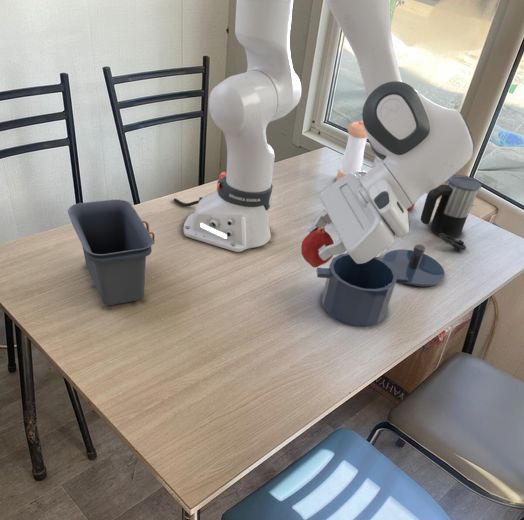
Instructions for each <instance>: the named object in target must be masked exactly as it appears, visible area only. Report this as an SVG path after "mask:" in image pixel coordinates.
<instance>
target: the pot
mask: <svg viewBox="0 0 524 520" xmlns="http://www.w3.org/2000/svg"><path fill="white" fill-rule="evenodd" d="M315 273H316V276H317V278H320V279H321V278H322V279H326V280H325V282H324V283H325V284H324V288H323V292H322V297H321V304H322V307H323V309H324V311H325V312H326V313H327V314H328V315H329V316H330V317H332V318H333V319H334V320H336V321H338V322H341V323H342V324H345V325H349V326H354V327H370V326H375V325H376V324H379V323H380V322H381V321H383V319H384V318H385V317H386V316H385V315H386V313H387V309H388V306H389V304H390V301H391V299H392V295H393V292H394V289H395V286H396V284H407V282H408V278H407V276H406V274H401V273H395V270H394V269H393V268H392V267H391V266H390V265H389V264H388V263H387V262H385V261H383V259H381V258H379V257H378V256H375V257H374V258H373V259H371V260H370V261H368V262H366V263H362V264H357V263H356V262H355V261H354V260H353V259H352V258H351V256H350V255H349V254H348V252H346V253H345V252H344V253H342V254H337V255H336V256H335V257H332V259H331V261H330V264H329V266H328V267H319V266H318V267H316V270H315ZM407 285H408V284H407Z"/></svg>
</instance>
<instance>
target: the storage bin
mask: <svg viewBox="0 0 524 520" xmlns="http://www.w3.org/2000/svg"><path fill="white" fill-rule="evenodd" d="M67 213H68V216H69V220H70V222H71V224H72V227H73V229H74V232H75V233H76V235H77V238H78V240H79V242H80V244H81V247H82V251H83V255H84V261H85V265H86V268H87V270H88V273H89V274H90V277H91V279H92V282H93V284H94V286H95V288H96V291H97V292H98V295H99V296H100V300H101V302H102V304H103V305H104V306H115V305H119V304H125V303H130V302H135V301H140V300H142V299H144V297H145V282H146V281H145V280H146V279H145V278H146V277H145V276H146V260H147V257H148V256H150V255H151V253H152V250H153V249H152V246H153V245H155V233H154V232H153V231H150V227H149V225H150V224H149V223H148V221H146V220H142V219H141V217H140V216H139V214H138V212H137V211H136V209H135V208H134V206H133V205H132V204H131V202H129V201H127V200H124V199H107V200H98V201H87V202H78V203H75V204H73V205H71V206H70V207H69V208H68V209H67Z"/></svg>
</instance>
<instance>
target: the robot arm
mask: <svg viewBox="0 0 524 520" xmlns="http://www.w3.org/2000/svg"><path fill="white" fill-rule="evenodd" d="M325 2H326V5H327V7H328V9H329V11H330V12H331V14H332V16H333V18H334V20H335V22H336V23H337V25H338V27H339V28H340V30H341V32H342V34H343V35H344V37H345V38H346V39H345V40H347V42H348V44H349V46H350V47H351V50H352V52H353V54H354V56H355V58H356V62H357V64H358V66H359V71H360V75H361V79H362V82H363V85H364V88H365V92H366V95H367V98H366V100H365V102H364V104H363V107H362V113H361V118H362V121H363V126H364V130H365V132H366V135H367V140H368V142H369V146H370V149H371V151H372V152H373V154H374V155H376V156H377V157H379V158H380V159H382V160H383V161H381V162H380V163H379V164H377V165H376V166H375V167H374V168H371V169H370V170H368V171H365V170H361V172H355V173H353V174H348V175H346V176H344V177H342V178H341V179H339V180H338V181H336V180H335V181H334V182H333V183H331V184H330V185H329V186H328V187H326V188H324V189H323V190H322V191H321V194H320V195H319V199H320V202H321V204H322V205H323V208H324V210H323V211H322V212H320V213H319V215H318V217H317V218H316V220H315V221H314V222H313V224H311V225H310V226H309V227H308V228H307V231H308V234H309V233H311V232H312V231H314V230H317V229H319V228H320V227H324V228H325V227H326V226H327V225H330V224H332V225H333V227H334V229H335V231H336V233H337V235H338V237H337V238H336V239H335V240H333V242H334V244H332V245H329V246H326V245H325V244H324V245H323V246H322V247H321V248H319V249H318V250H317V252H318V254H319V257H320V258H321V259H322V260H327V259H328V258H329V257H331V256H332V255H333V256H338V255H340V254H345V252H346V253H348V254H349V255H350V256H351V258H352V259H353V260H354V261H355V262H356V263H357V264H362V263H366V262H368V261H370V260H371V259H373V258H374V257H378V255H380V254H381V253H383V252H384V251H385V250H387V249H388V248H389V247H390V246H391V245H392V244H393V242H394V241H395V240H396V238H398V239H402V238H403V237H405V236H406V235H408V234H409V232H410V224H409V210H408V208H410V207H411V206H412V205H414V206H415V204H416V203H417V201H418V200H419V199H420V198H422V196H423V195H425V194H427V193H429V191H431V190H433V189H435V188H437V187H438V186H440V185H443V184H444V183H445V182H447V181H448V179H449V178H450V177H451V176H453V175H454V174H457V173H458V172H459V171H460V170H461V169H462V168H463V167H465V166H466V164H468V162H469V161H470V160H471V158H472V157H473V153H474V151H475V139H474V134H473V133H472V129H471V127H470V124H469V123H468V120H467V119H466V118H465V116H464V115H463V113H462V112H460V110H457V109H451V108H447V107H444V106H441V105H440V104H438V103H435V102H433V101H432V100H430V99H428V98H427V97H426V96H424V95H423V94H421V93H420V92H419V91H417V90H416V89H415V88H414V87H413V86H411V85H410V84H408V83H406V82H403V80H402V75H401V71H400V68H399V64H398V61H397V56H396V53H395V49H394V44H393V37H392V27H391V26H392V23H391V0H325ZM293 5H294V0H236V5H235V25H234V33H235V34H234V35H235V38H236V40H237V41H238V43H239V44H240V45H241V46H242V47H243V48H244V51H245V56H246V61H247V68H246V72H241V73H237V74H234V75H231V76H228V77H227V78H225V79H224V80H222V81H221V82H219V83H218V84H216V85H215V86H214V87H213V88H212V90H211V91H210V94H209V97H208V111H209V115H210V116H211V120H212V121H213V122H214V124H215V125H216V127H217V128H218V129H220V130H221V132H222V133H223V136H224V139H225V145H226V171H221V172H220V174H219V176H218V180H217V185H216V190H215V191H213V192H211V193H209V194H207V195H205V196H202V197H201V196H199V198H198V200H194V201H191V202H186V203H185V202H182V201H180V200H179V199H177V198H176V197H174V198H173V202H174V203H177V204H178V205H180V206H182V207H192V206H195V205H196V206H195V208H194V211H193V212H191V214H189V215H188V217H186V219H185V221H184V223H183V229H182V230H183V234H184V236H185V237H187V238H190V239H193V240H196V241H199V242H202V243H206V244H209V245H212V246H215V247H219V248H222V249H225V250H228V251H231V252H235V253H240V252H243V251H245V250H247V249H252V248H253V249H254V248H259V247H262V246H264V245H266V244H268V242H270V240H271V239H272V238H271V237H272V233H271V229H270V228H271V227H270V207H271V205H272V198H273V192H274V191H273V187H274V184H273V182H272V181H273V176H274V175H273V174H274V165H275V159H276V158H275V157H276V154H275V151H274V149H273V147H272V146H271V145H270V144H269V143H268V139H267V127H268V124H269V123H271V122H274V121H277V120H280V119H282V118H284V117H286V116H287V115H288V114H289V113H291V112H292V111H293V110H295V108H296V107H297V106H298V104H299V103H300V101H301V97H302V84H301V80H300V78H299V76H298V75H297V73H296V72H295V70H294V67H293V62H292V57H291V55H292V54H291V45H290V37H291V28H292V27H291V25H292V15H293ZM360 174H361V175H360ZM333 256H332V257H333Z"/></svg>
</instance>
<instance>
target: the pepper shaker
mask: <svg viewBox="0 0 524 520" xmlns="http://www.w3.org/2000/svg"><path fill="white" fill-rule="evenodd" d="M347 133H348V137H347V142H346V147H345V150H344V152H343V154H342V158H341V161H340V167H339V168H338V170H337V174H336V179H335V182H336V181H338V180H339V179H341V178H342V177H344V176H346V175H348V174H353V173H355V172H362V168H363V165H364V154H365V149H366V144H367V140H368V137H367V135H366V132H365V130H364V126H363V120H359V121H354V122H351V123H349V125H348V127H347ZM360 175H361V174H360Z"/></svg>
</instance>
